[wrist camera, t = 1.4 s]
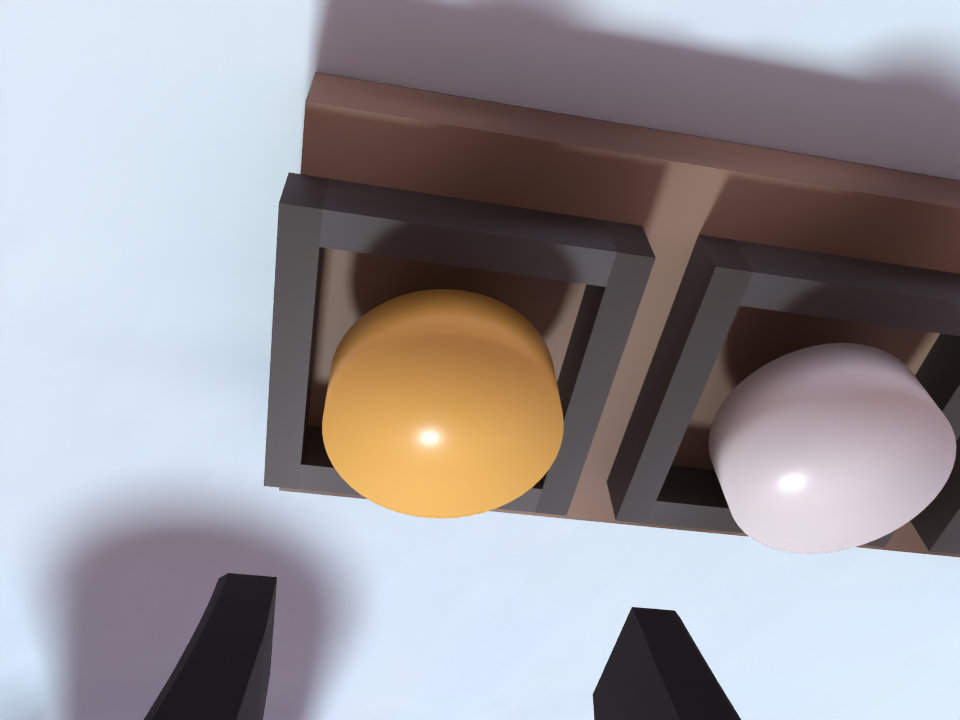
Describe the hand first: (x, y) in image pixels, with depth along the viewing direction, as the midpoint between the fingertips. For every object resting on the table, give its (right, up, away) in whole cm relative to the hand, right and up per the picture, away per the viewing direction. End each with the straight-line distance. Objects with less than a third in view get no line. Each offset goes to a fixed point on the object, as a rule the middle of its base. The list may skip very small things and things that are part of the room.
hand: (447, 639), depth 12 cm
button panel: (+7, +4, +8) cm, 11 cm away
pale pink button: (+7, +2, +6) cm, 9 cm away
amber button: (0, +3, +5) cm, 6 cm away
